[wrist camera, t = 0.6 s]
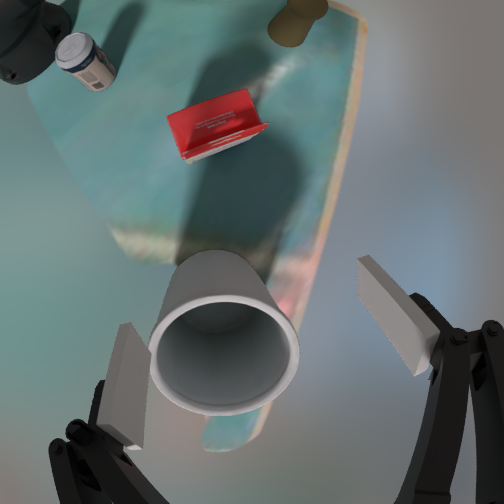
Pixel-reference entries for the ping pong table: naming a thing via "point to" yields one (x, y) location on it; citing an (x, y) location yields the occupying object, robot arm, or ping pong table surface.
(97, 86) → the beer can
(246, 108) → the ink box
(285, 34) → the cork
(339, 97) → the ping pong table surface
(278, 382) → the utensil holder
